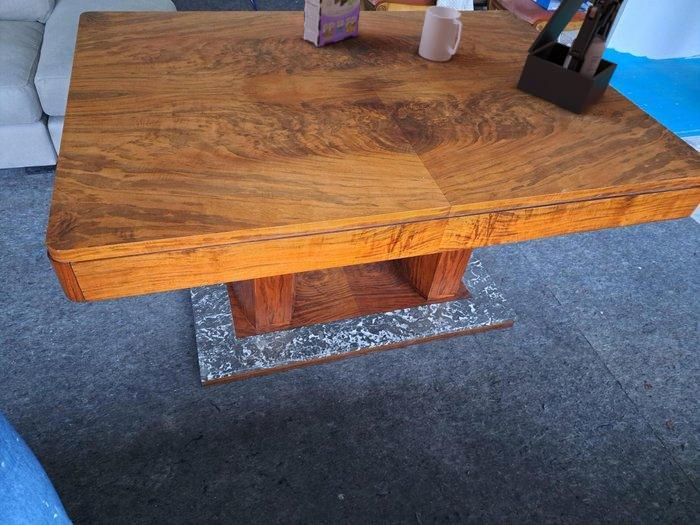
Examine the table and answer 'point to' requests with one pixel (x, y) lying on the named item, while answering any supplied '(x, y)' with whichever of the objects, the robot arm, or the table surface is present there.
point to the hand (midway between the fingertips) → (573, 81)
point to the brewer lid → (556, 23)
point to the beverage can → (590, 56)
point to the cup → (440, 33)
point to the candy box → (330, 20)
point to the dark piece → (563, 79)
